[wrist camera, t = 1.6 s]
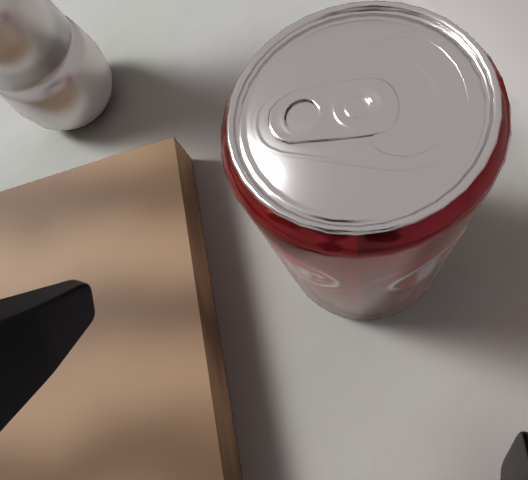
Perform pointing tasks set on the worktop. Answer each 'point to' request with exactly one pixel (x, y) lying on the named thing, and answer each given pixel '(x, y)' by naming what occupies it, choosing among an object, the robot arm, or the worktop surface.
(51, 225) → the walnut base board
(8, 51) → the plastic bottle
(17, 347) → the robot arm
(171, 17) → the worktop surface
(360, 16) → the soda can
